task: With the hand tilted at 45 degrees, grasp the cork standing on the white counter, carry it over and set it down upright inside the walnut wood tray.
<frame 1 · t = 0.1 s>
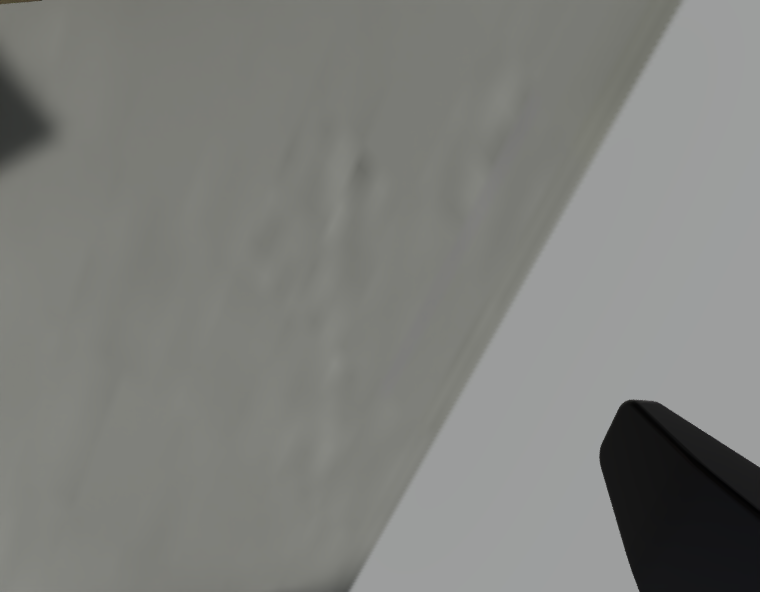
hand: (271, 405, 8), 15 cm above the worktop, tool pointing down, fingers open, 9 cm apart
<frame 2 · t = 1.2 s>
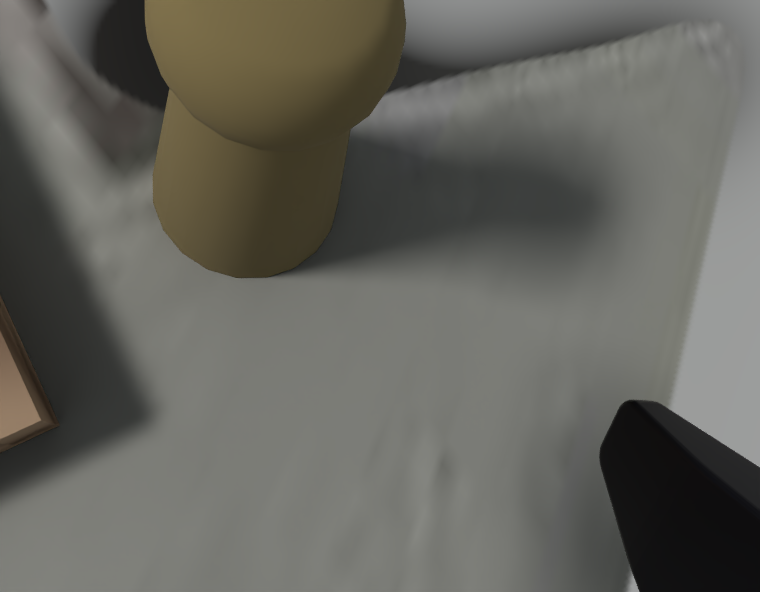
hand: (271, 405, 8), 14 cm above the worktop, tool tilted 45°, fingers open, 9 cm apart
cork: (247, 192, 23), on the worktop
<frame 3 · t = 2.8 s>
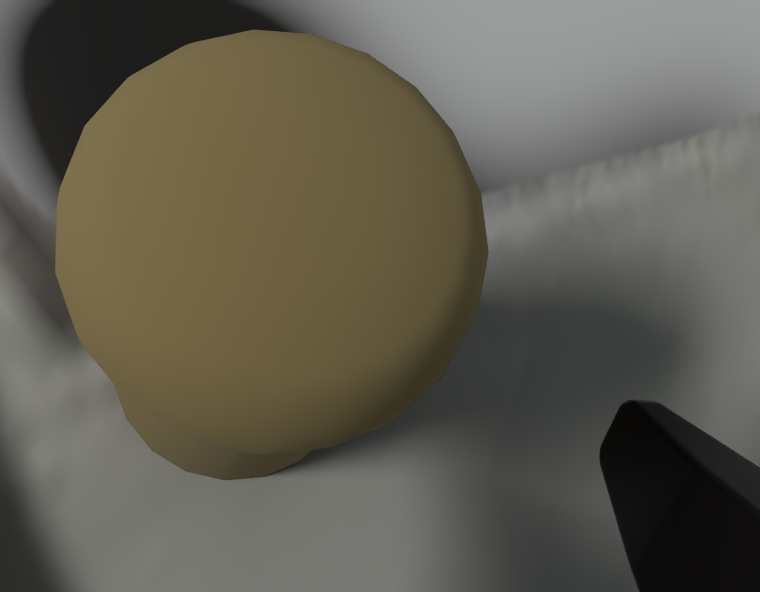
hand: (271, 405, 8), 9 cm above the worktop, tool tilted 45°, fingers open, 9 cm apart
cork: (239, 357, 18), on the worktop
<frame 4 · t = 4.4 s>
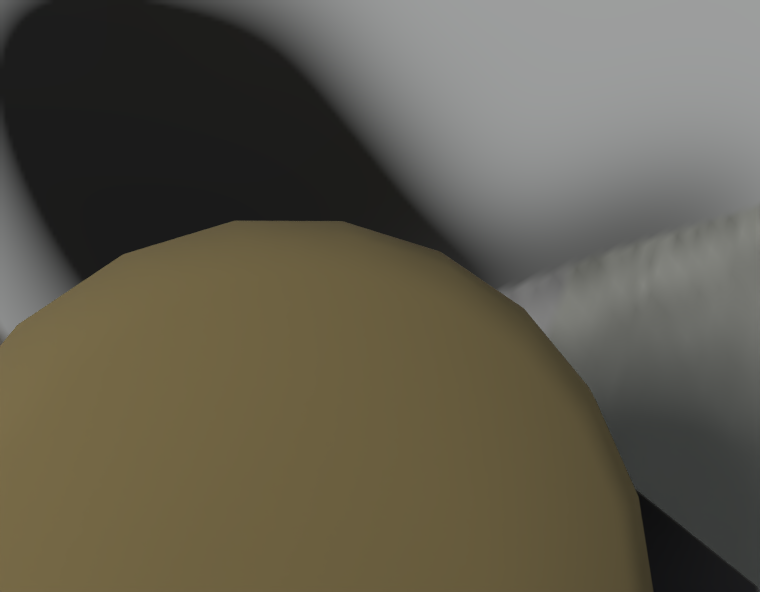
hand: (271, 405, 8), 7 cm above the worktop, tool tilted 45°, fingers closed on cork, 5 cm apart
cork: (233, 500, 14), on the worktop, touching gripper
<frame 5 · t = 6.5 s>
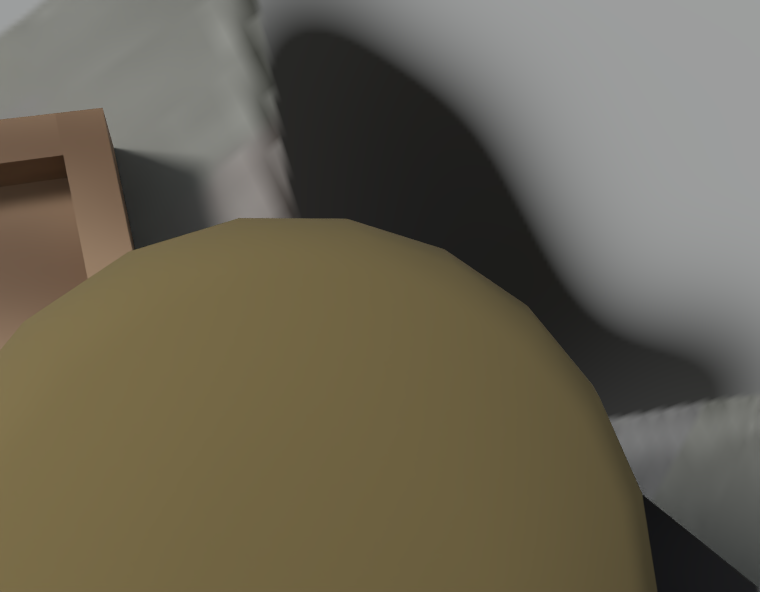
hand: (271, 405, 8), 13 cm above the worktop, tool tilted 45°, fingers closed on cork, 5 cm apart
cork: (235, 498, 14), point 6 cm above the worktop, touching gripper
when the fingers open (9 cm above the worktop, at t = 8.7 s): cork drops 1 cm, resting on walnut tray.
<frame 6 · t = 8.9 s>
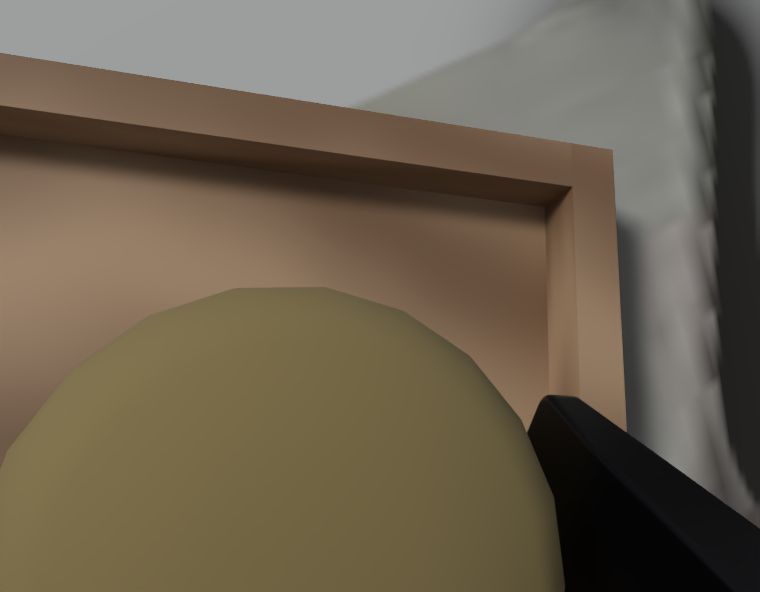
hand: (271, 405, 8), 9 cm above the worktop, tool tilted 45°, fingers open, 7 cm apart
walnut tray: (229, 493, 16), on the worktop
cork: (227, 506, 15), point 1 cm above the worktop, touching walnut tray
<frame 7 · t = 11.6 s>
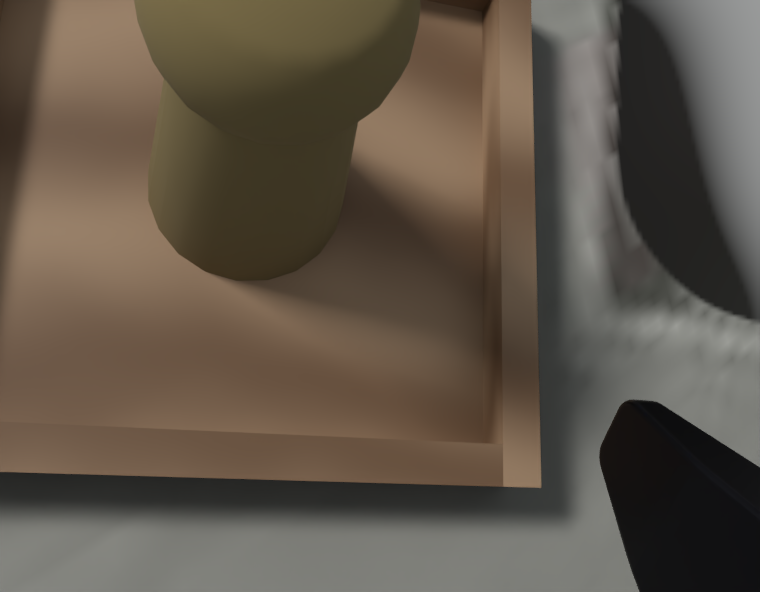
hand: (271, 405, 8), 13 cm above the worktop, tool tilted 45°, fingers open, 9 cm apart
walnut tray: (248, 192, 23), on the worktop
cork: (248, 190, 22), point 1 cm above the worktop, touching walnut tray
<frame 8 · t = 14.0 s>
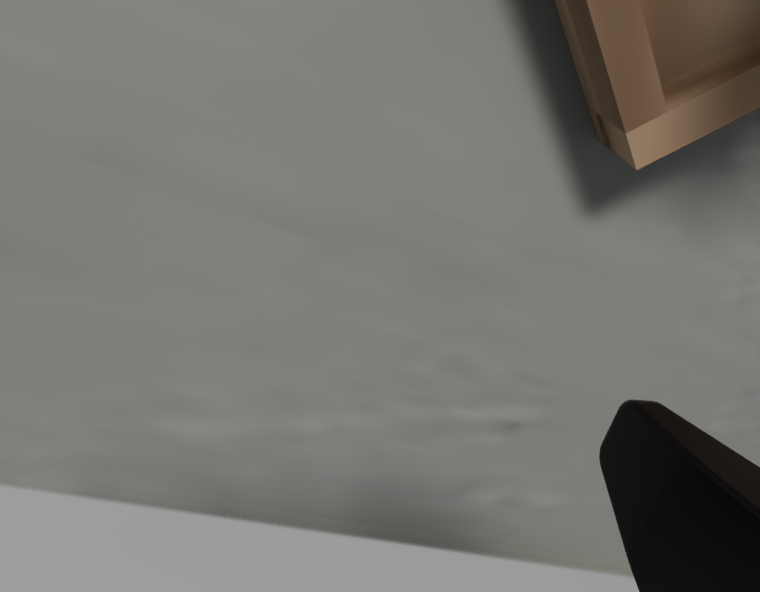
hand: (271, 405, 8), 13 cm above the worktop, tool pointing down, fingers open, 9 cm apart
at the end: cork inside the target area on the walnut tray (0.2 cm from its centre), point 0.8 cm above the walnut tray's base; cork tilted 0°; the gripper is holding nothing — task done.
